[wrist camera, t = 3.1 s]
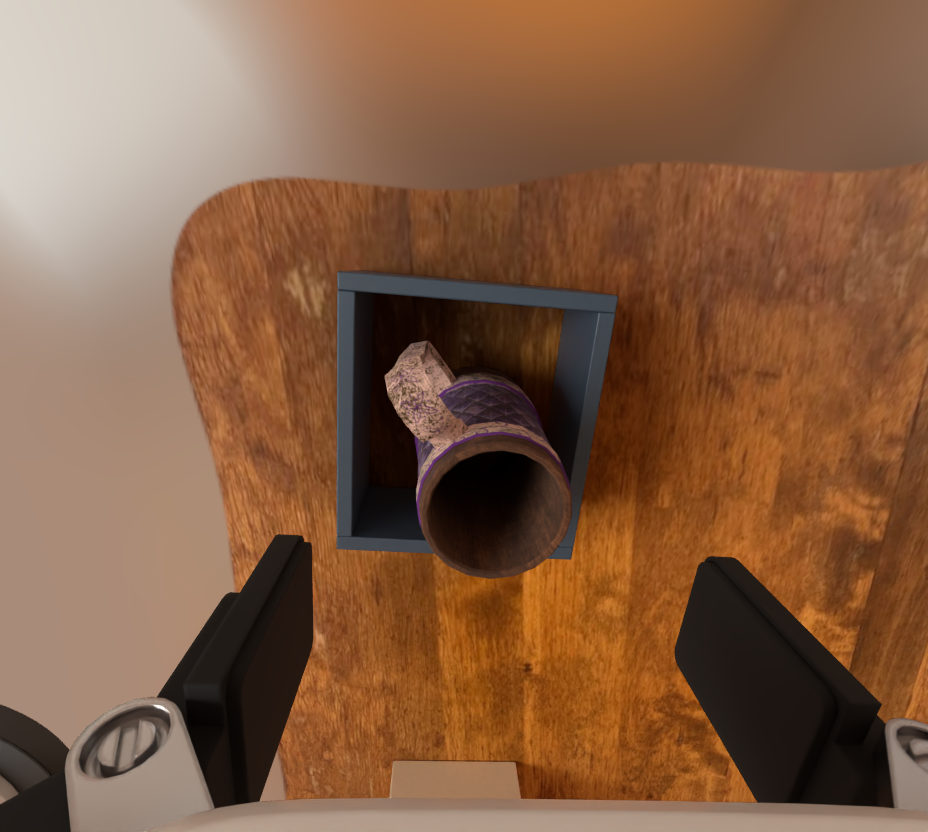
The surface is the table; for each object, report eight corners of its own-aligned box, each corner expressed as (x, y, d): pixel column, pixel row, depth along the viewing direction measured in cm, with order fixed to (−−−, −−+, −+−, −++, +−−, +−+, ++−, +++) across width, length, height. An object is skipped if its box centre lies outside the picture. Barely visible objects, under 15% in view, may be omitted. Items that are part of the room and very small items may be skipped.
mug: (550, 438, 29) (620, 546, 18) (454, 490, 30) (462, 625, 19) (470, 294, 26) (493, 313, 15) (366, 356, 27) (312, 420, 16)
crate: (356, 495, 30) (336, 549, 24) (360, 270, 26) (337, 270, 20) (547, 506, 31) (571, 560, 25) (580, 289, 27) (619, 295, 21)
